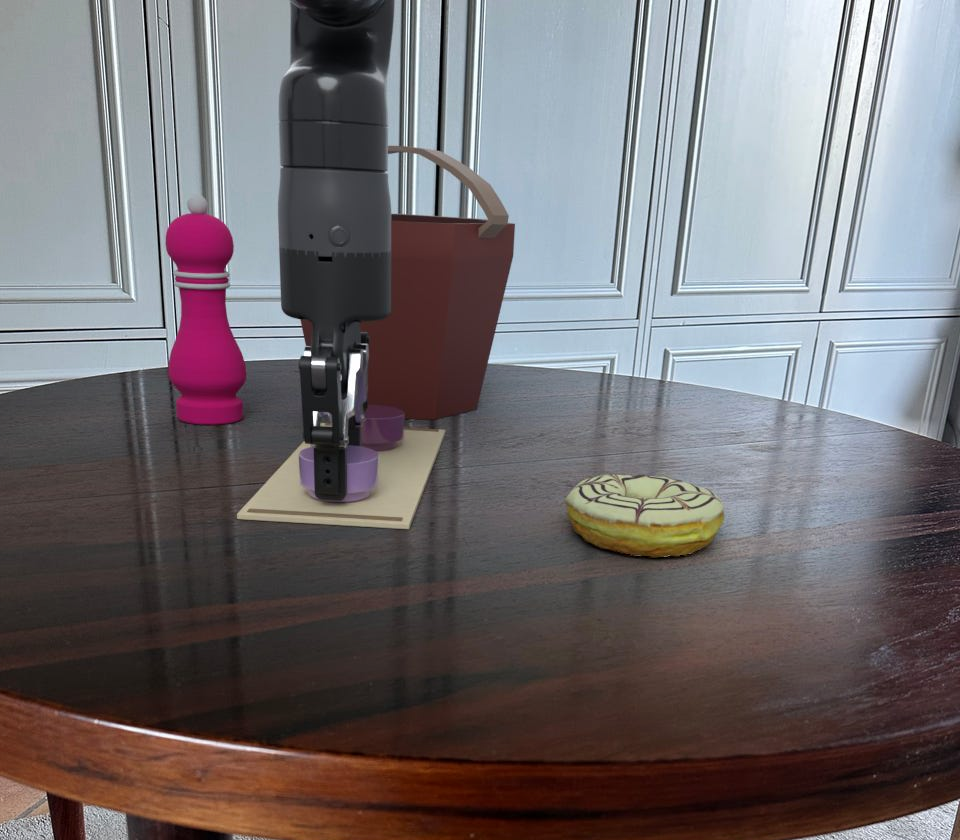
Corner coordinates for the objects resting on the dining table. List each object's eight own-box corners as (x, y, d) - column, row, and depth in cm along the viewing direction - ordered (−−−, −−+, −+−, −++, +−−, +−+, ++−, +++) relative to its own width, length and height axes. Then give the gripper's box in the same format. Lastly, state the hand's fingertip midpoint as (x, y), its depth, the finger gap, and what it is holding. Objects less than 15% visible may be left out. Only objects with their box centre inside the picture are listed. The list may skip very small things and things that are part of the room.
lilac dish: (292, 502, 74) (290, 461, 72) (308, 481, 79) (307, 442, 78) (372, 507, 73) (372, 466, 72) (383, 485, 79) (383, 446, 77)
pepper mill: (260, 422, 99) (250, 197, 91) (187, 429, 95) (170, 194, 87) (231, 408, 104) (220, 194, 96) (161, 413, 100) (143, 191, 92)
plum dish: (333, 451, 88) (332, 416, 87) (344, 436, 93) (344, 403, 92) (400, 455, 88) (400, 420, 87) (407, 439, 93) (408, 406, 92)
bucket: (252, 392, 112) (240, 138, 102) (409, 375, 126) (413, 151, 116) (388, 436, 96) (391, 140, 86) (552, 412, 110) (572, 154, 100)
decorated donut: (649, 509, 78) (654, 460, 76) (750, 552, 69) (759, 498, 68) (535, 525, 73) (539, 473, 71) (630, 573, 64) (637, 515, 63)
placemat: (237, 519, 71) (236, 512, 71) (320, 426, 98) (320, 421, 98) (409, 529, 71) (409, 522, 70) (445, 433, 98) (445, 428, 98)
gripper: (302, 236, 76) (308, 460, 83) (253, 246, 63) (265, 512, 69) (403, 241, 75) (401, 465, 82) (375, 252, 62) (375, 518, 69)
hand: (338, 485), depth 76 cm, fingers closed on lilac dish, 5 cm apart
